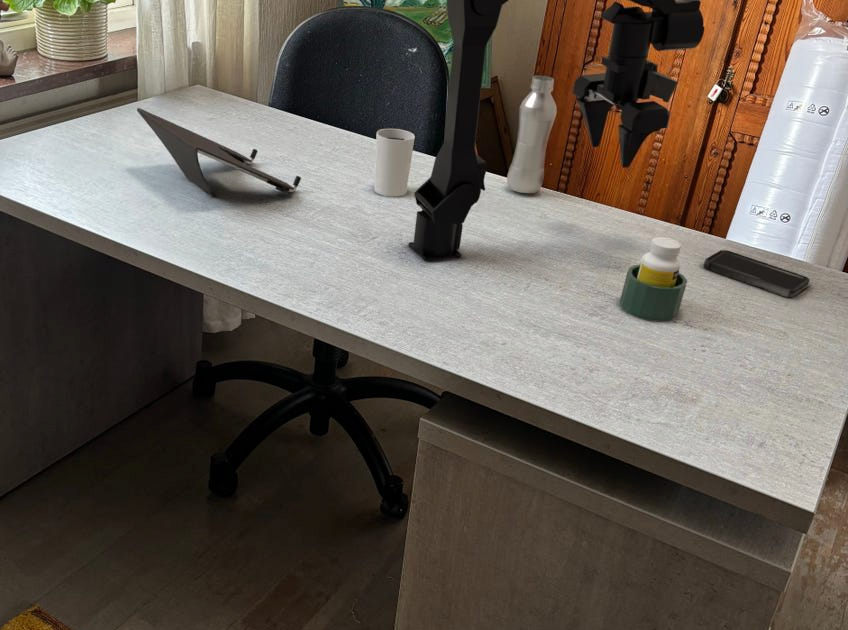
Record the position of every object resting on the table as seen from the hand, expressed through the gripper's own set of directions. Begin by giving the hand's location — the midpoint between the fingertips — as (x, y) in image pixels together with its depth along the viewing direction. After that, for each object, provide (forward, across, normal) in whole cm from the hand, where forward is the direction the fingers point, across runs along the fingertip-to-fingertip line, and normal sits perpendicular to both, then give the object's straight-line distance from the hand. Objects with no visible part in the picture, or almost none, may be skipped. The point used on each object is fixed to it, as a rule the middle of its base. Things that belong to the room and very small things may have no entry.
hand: (610, 156), depth 153 cm
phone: (+16, -17, -19) cm, 30 cm away
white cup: (+14, +27, +26) cm, 40 cm away
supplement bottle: (+13, -24, +5) cm, 28 cm away
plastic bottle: (+15, +24, +1) cm, 29 cm away
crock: (+13, -24, +5) cm, 28 cm away
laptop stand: (+12, +34, +55) cm, 66 cm away
